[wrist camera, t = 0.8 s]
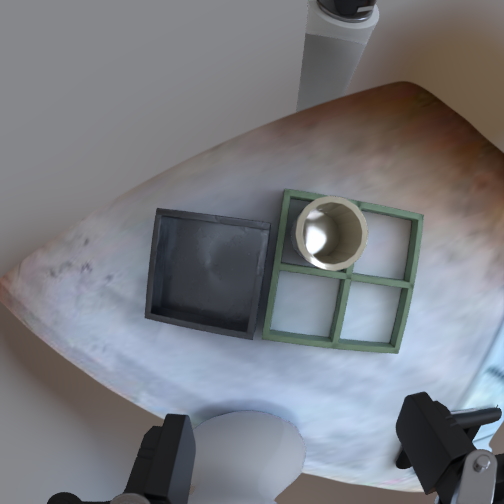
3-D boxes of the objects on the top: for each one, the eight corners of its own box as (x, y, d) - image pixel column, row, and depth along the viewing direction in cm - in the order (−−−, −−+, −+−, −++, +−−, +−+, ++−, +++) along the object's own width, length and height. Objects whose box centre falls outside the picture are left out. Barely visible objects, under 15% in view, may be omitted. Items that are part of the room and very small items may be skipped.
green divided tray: (284, 191, 37) (284, 188, 35) (417, 215, 35) (424, 214, 33) (262, 334, 38) (261, 339, 36) (393, 348, 36) (398, 353, 34)
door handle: (469, 470, 33) (507, 406, 31) (387, 486, 35) (424, 419, 33) (463, 461, 36) (498, 398, 35) (383, 474, 38) (417, 407, 36)
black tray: (168, 210, 38) (156, 207, 34) (271, 224, 37) (270, 223, 33) (156, 310, 39) (144, 318, 35) (255, 330, 38) (252, 340, 34)
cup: (294, 204, 37) (301, 190, 26) (345, 213, 36) (372, 203, 25) (286, 257, 37) (290, 264, 26) (338, 265, 37) (362, 275, 26)
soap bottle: (299, 391, 38) (318, 582, 8) (306, 450, 38) (319, 612, 9) (184, 401, 39) (89, 553, 10) (201, 456, 40) (145, 599, 10)
